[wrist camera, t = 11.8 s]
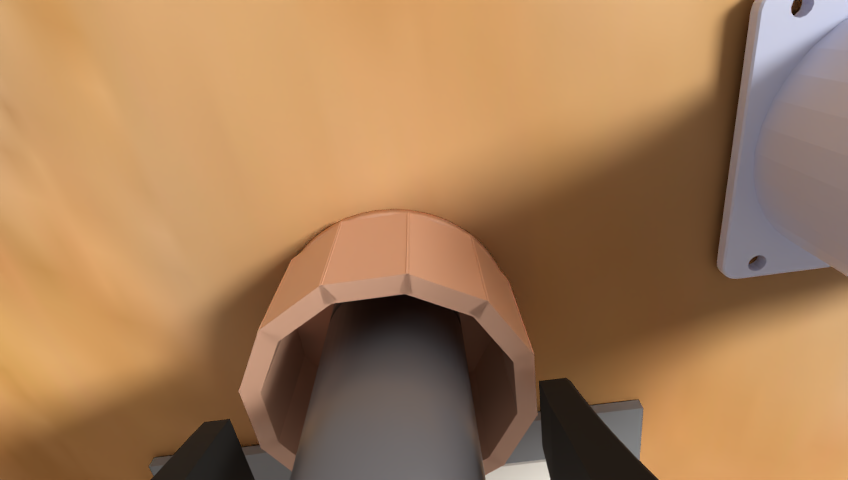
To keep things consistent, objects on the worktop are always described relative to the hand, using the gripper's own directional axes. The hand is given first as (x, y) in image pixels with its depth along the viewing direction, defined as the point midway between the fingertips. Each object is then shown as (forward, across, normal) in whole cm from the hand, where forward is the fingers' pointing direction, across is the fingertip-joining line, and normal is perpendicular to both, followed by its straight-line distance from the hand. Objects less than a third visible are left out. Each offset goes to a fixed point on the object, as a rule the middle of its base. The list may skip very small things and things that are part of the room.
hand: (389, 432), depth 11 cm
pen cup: (+5, 0, 0) cm, 5 cm away
